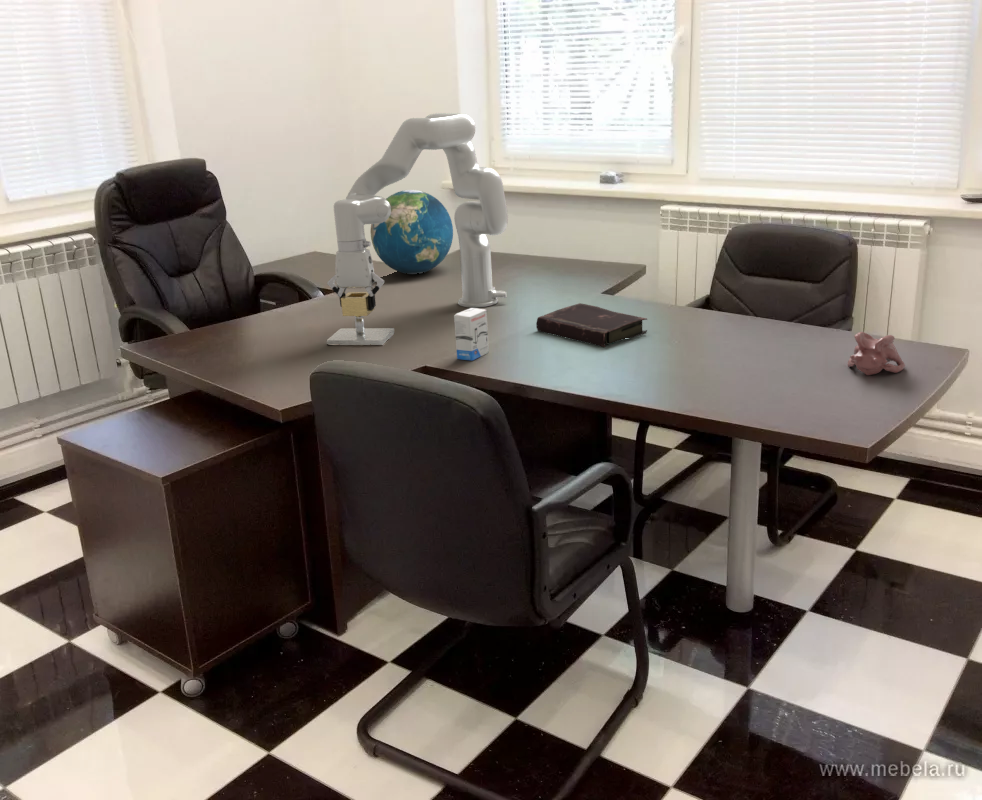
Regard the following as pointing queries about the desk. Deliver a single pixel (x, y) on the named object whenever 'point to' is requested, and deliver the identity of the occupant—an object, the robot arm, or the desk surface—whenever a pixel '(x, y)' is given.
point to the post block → (361, 335)
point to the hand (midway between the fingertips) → (358, 309)
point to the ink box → (471, 334)
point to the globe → (413, 233)
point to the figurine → (875, 354)
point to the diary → (590, 324)
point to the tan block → (355, 304)
